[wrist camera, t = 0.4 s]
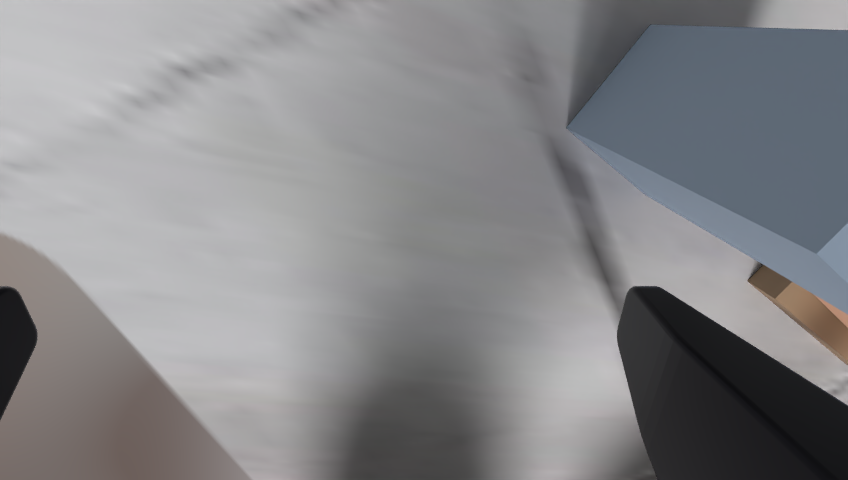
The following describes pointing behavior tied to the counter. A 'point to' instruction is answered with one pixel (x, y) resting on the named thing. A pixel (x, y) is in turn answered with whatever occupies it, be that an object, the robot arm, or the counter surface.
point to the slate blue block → (738, 140)
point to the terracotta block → (836, 312)
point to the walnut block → (803, 310)
